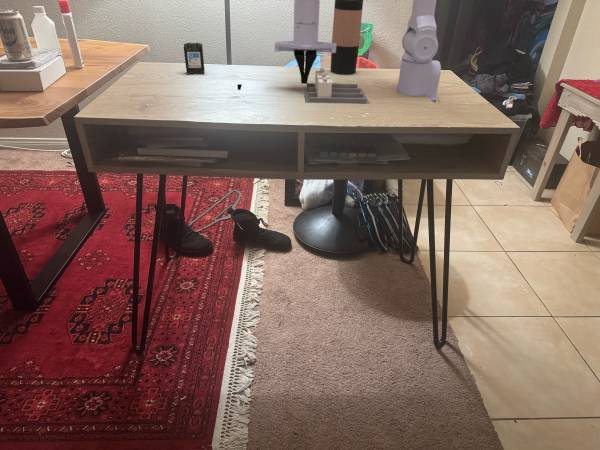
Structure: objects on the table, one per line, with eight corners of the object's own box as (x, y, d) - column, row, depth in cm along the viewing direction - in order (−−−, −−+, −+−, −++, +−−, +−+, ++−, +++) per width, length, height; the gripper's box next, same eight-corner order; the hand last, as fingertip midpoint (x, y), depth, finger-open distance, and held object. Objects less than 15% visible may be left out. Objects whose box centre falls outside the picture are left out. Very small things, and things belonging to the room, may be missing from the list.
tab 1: (326, 87, 108) (327, 68, 106) (327, 90, 106) (328, 71, 104) (314, 86, 108) (315, 68, 106) (315, 90, 106) (316, 70, 103)
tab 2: (329, 96, 102) (330, 76, 99) (330, 100, 99) (332, 79, 97) (316, 96, 102) (318, 76, 99) (317, 99, 99) (319, 79, 97)
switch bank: (360, 92, 111) (361, 83, 109) (369, 108, 100) (370, 99, 99) (302, 91, 110) (302, 82, 109) (305, 107, 99) (305, 98, 98)
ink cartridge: (186, 74, 120) (183, 44, 115) (187, 72, 122) (183, 42, 117) (204, 74, 121) (201, 44, 116) (204, 72, 122) (202, 42, 118)
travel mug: (326, 72, 127) (331, -4, 116) (351, 72, 128) (358, -3, 117) (333, 79, 120) (338, -1, 110) (359, 79, 122) (367, 0, 111)
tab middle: (328, 91, 105) (329, 72, 103) (329, 95, 103) (330, 75, 100) (315, 91, 105) (316, 72, 102) (316, 94, 103) (317, 75, 100)
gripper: (274, 24, 95) (274, 86, 102) (339, 26, 96) (334, 87, 103) (274, 19, 101) (274, 78, 108) (336, 21, 102) (331, 79, 109)
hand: (304, 82), depth 106 cm, fingers closed
